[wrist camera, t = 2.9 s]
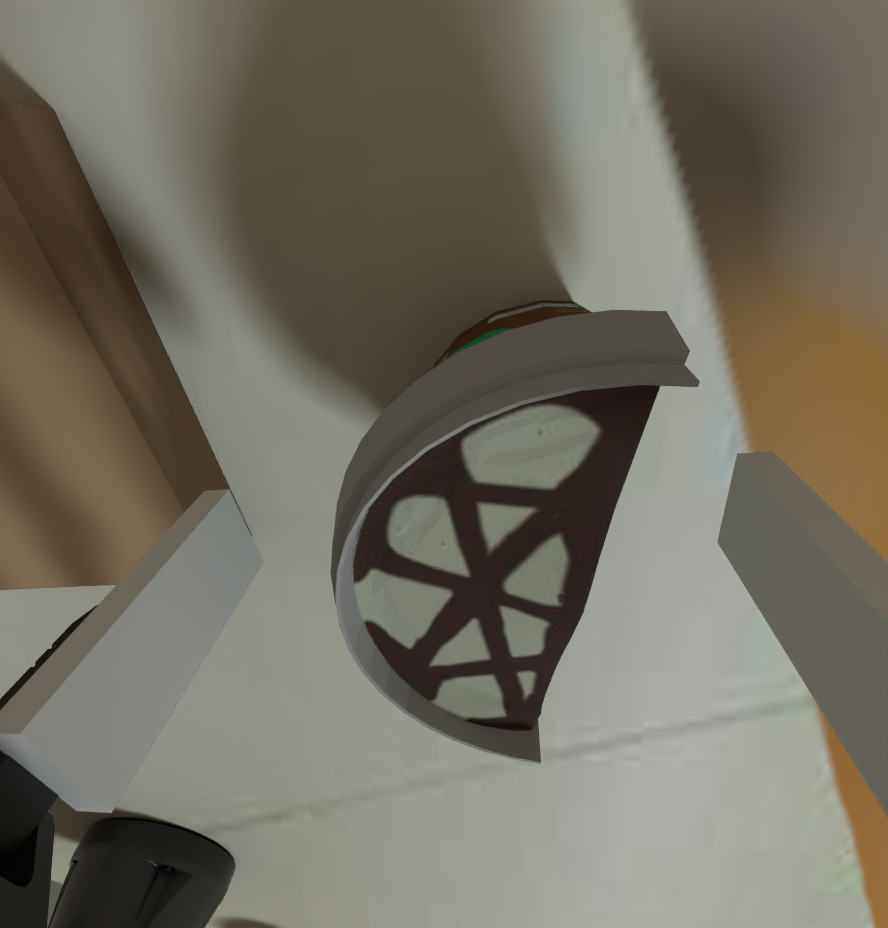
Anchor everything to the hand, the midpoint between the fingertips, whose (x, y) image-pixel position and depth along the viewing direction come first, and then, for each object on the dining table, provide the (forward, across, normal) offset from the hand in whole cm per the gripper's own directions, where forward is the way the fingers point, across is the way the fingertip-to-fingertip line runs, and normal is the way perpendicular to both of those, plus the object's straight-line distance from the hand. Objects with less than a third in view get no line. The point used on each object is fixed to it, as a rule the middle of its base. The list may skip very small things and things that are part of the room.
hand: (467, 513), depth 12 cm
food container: (+7, 0, 0) cm, 7 cm away
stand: (+7, +18, -3) cm, 20 cm away
